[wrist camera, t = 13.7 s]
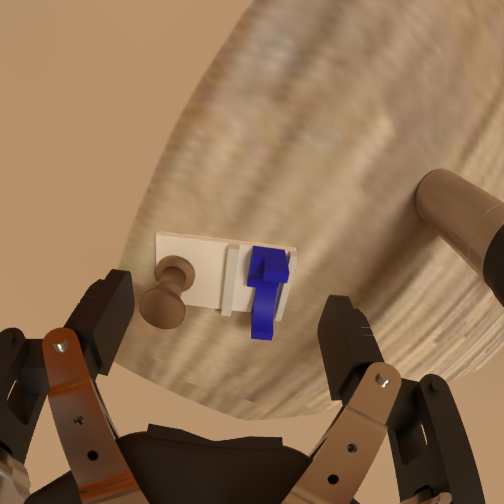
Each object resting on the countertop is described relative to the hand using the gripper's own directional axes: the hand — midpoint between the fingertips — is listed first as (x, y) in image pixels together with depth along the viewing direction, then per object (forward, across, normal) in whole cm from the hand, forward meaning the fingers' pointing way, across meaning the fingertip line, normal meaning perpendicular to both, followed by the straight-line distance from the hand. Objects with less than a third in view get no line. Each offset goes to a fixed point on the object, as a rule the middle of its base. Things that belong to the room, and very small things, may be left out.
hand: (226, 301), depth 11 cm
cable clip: (+27, -5, +18) cm, 33 cm away
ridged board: (+28, +1, +18) cm, 33 cm away
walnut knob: (+27, +8, +18) cm, 33 cm away
